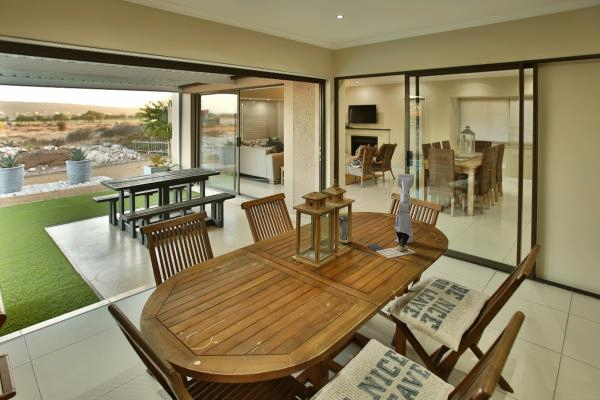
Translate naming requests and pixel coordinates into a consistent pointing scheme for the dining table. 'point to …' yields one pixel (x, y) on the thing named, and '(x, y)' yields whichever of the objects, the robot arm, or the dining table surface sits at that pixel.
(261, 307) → the dining table surface
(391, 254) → the paper card
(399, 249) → the stamp
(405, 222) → the robot arm
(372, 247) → the ink pad
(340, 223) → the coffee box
